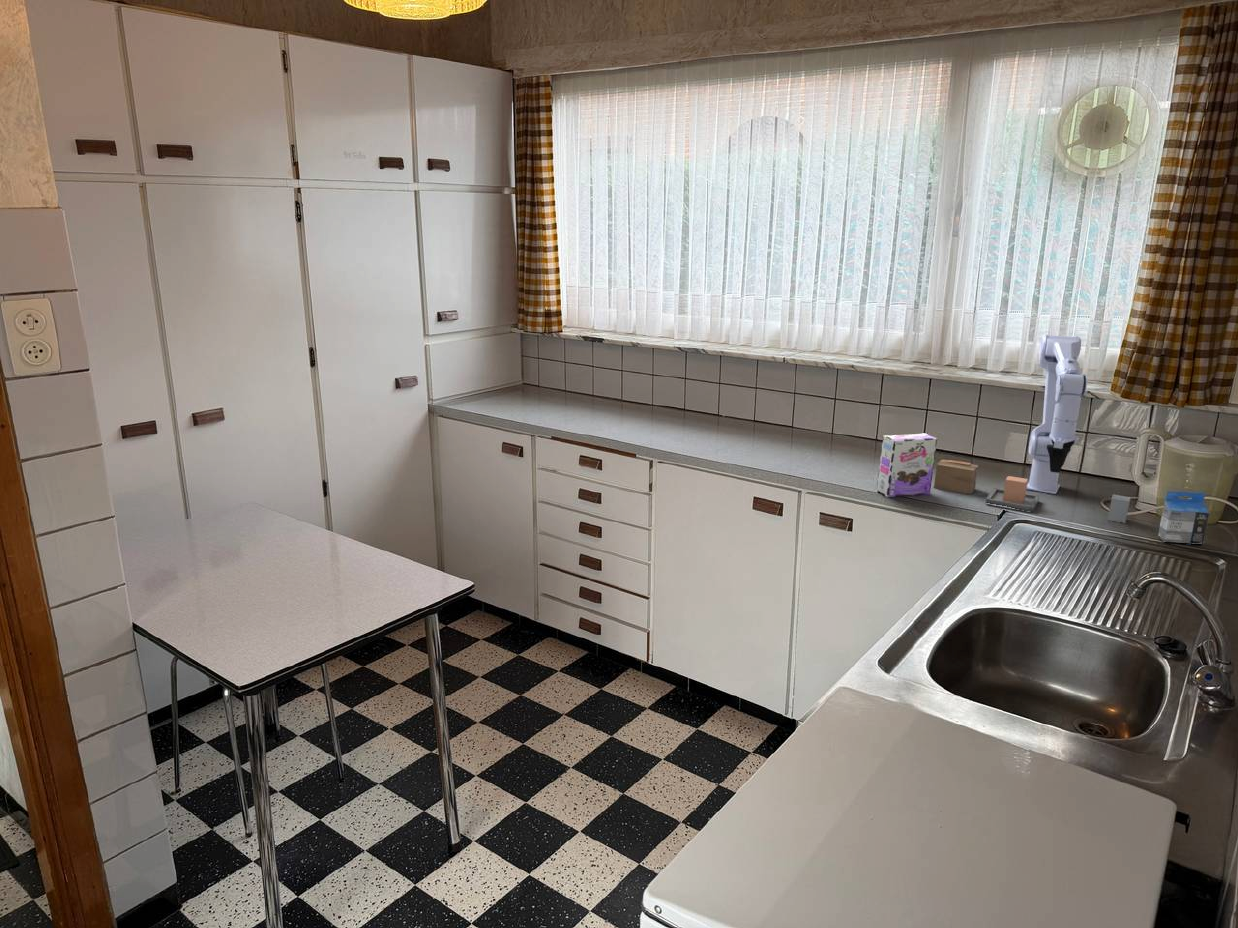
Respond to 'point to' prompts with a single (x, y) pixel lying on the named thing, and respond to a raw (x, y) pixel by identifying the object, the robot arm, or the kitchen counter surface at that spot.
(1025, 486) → the terracotta block
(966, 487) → the box
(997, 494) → the charcoal tray
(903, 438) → the candy box
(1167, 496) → the label tape box
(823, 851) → the kitchen counter surface
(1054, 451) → the robot arm
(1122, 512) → the slate grey block
